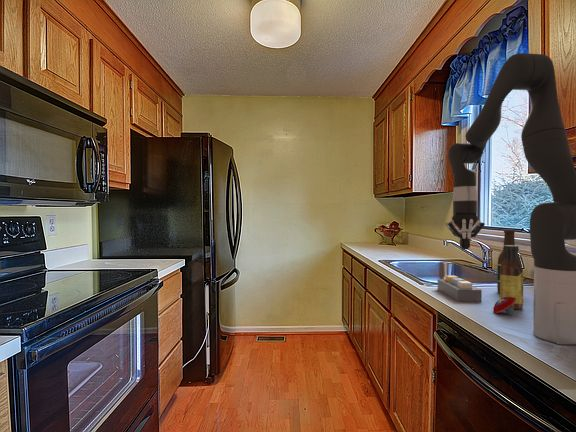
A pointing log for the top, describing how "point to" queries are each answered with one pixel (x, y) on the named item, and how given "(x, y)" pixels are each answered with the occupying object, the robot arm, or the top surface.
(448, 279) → the ochre key
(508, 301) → the button
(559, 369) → the top surface
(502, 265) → the sauce bottle
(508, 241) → the beer bottle
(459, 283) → the ivory key
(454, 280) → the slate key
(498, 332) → the top surface
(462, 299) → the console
